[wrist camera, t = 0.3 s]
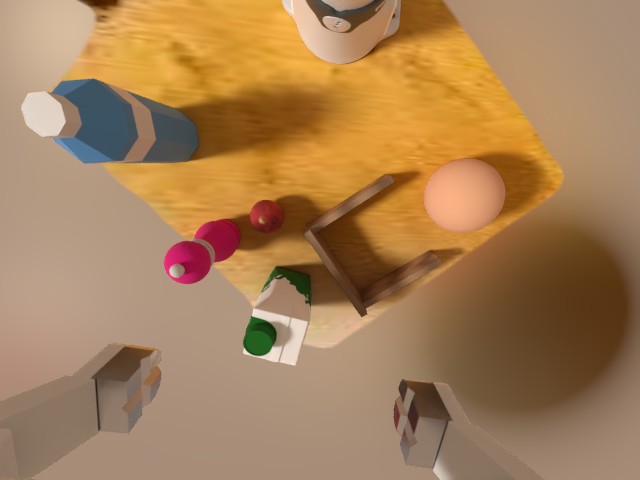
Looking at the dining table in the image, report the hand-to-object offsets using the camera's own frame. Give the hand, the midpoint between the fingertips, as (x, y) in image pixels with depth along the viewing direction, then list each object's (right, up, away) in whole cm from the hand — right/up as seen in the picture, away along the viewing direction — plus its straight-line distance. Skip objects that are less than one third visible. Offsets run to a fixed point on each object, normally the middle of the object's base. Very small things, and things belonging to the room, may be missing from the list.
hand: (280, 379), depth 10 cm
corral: (+11, +5, +46) cm, 48 cm away
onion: (-8, +10, +46) cm, 47 cm away
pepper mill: (-17, +6, +47) cm, 50 cm away
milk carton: (-5, -5, +49) cm, 50 cm away
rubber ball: (+25, +12, +38) cm, 47 cm away
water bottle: (-25, +23, +42) cm, 54 cm away
